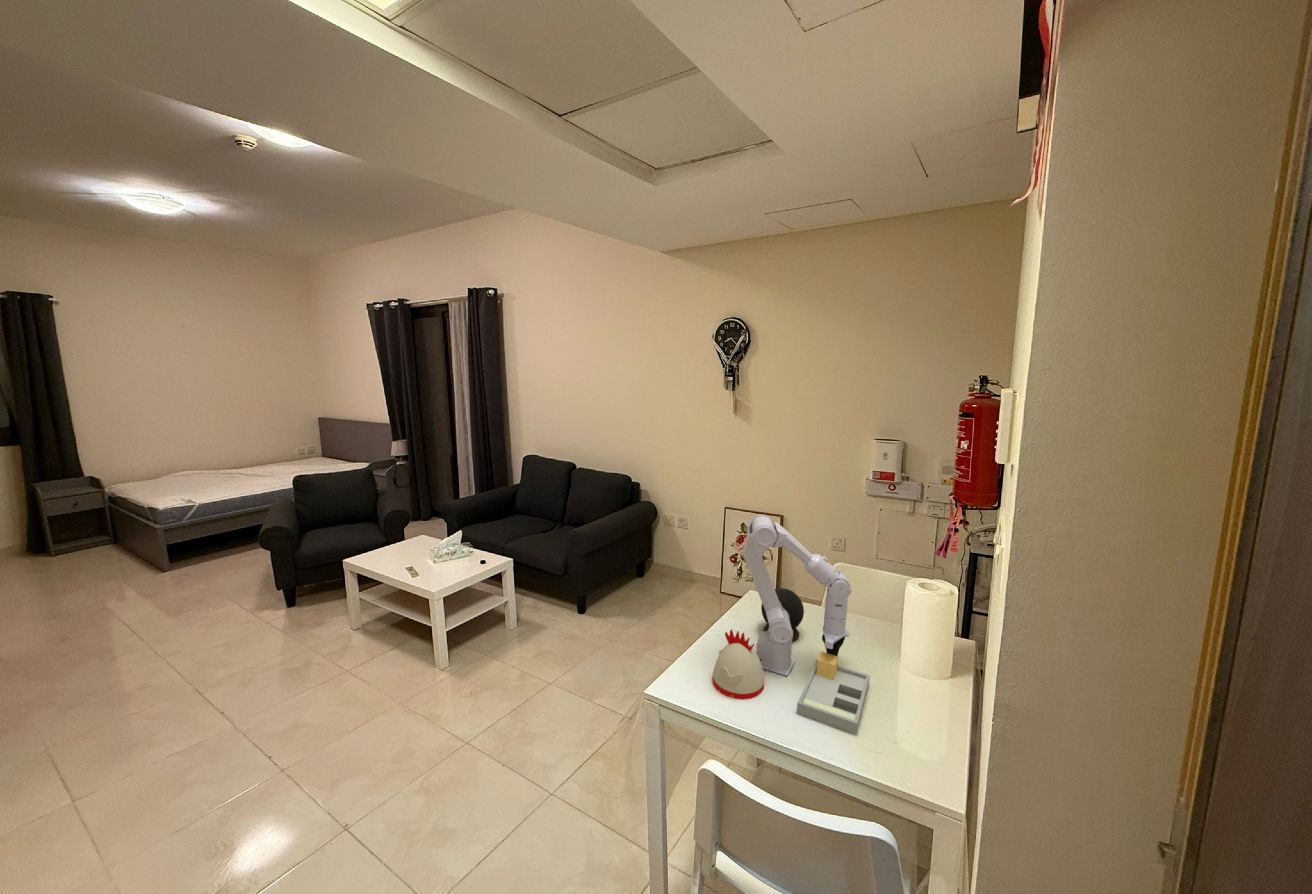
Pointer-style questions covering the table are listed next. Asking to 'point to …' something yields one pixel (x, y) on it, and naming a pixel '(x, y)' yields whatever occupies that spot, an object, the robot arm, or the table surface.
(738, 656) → the kitchen timer
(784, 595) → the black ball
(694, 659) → the table surface
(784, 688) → the table surface
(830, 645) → the robot arm
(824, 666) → the block
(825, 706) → the box
